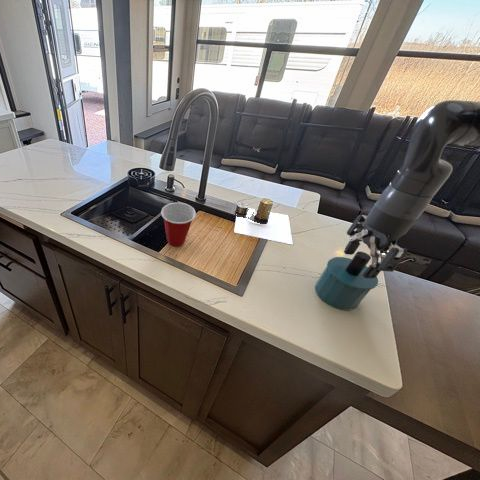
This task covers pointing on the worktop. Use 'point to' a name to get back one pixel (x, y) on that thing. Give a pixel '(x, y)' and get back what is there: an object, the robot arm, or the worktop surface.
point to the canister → (338, 292)
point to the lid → (352, 271)
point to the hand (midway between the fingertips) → (357, 264)
